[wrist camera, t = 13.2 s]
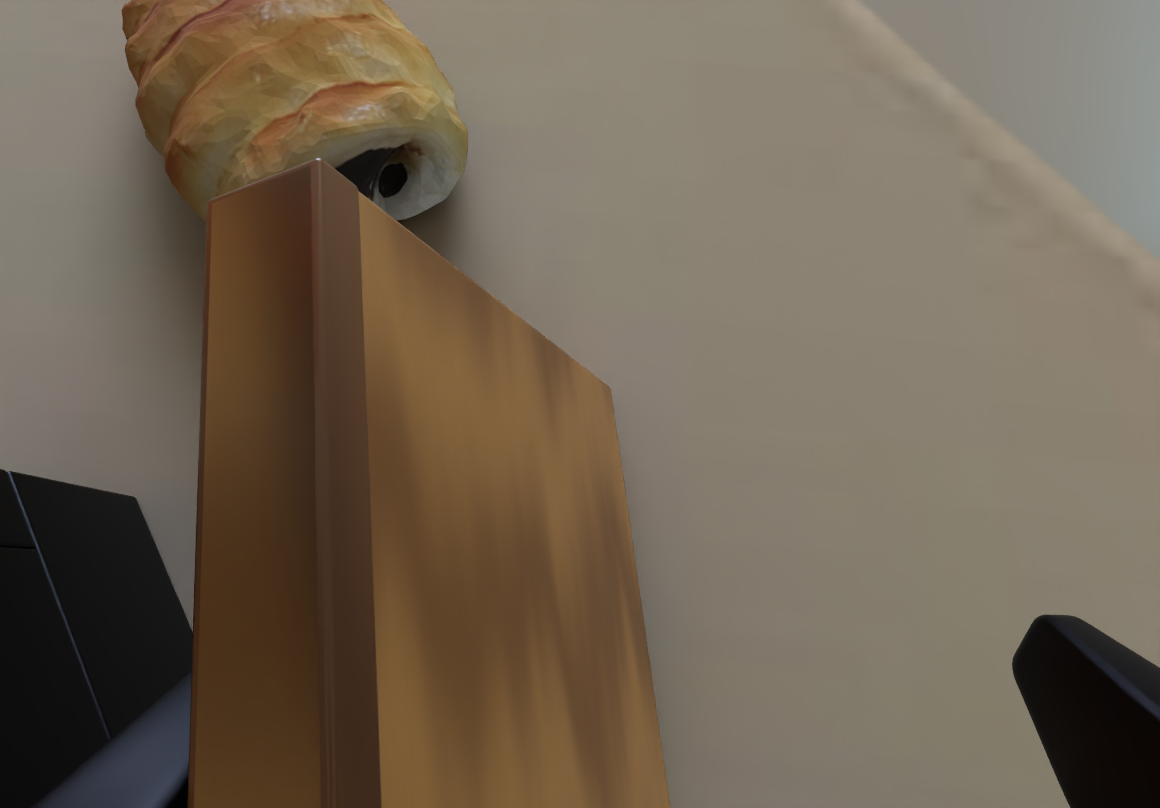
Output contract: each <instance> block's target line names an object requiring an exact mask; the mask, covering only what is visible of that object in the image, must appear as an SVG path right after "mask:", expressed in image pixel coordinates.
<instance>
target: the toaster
mask: <svg viewBox="0 0 1160 808" xmlns="http://www.w3.org/2000/svg"><path fill="white" fill-rule="evenodd" d="M192 646H193V633H192V630H191V628H190V626H189V623H188V621H187V618H186V616H185V614H184V611H183V609H182V607H181V604H180V602H179V600H178V597H177V595H176V592H175V590H174V588H173V585H172V583H171V581H170V578H169V576H168V573H167V571H166V569H165V566H164V564H163V562H162V559H161V557H160V554H159V552H158V550H157V547H156V545H155V543H154V540H153V538H152V536H151V533H150V531H149V528H148V526H147V524H146V521H145V519H144V517H143V514H142V512H141V509H140V507H139V505H138V502H137V500H136V498H135V497H132V496H127V495H122V494H118V493H113V492H108V491H103V490H98V489H94V488H89V487H84V486H79V485H74V484H70V483H65V482H60V481H55V480H50V479H46V478H41V477H36V476H31V475H26V474H22V473H17V472H12V471H10V472H6V471H5V470H2V469H0V808H30V807H32V806H33V805H34V804H35V803H36V802H38V801H39V800H40V799H41V798H42V797H44V796H45V795H46V794H47V793H48V792H49V791H51V790H52V789H53V788H54V787H55V786H57V785H58V784H59V783H60V782H61V781H62V780H64V779H65V778H66V777H67V776H68V775H70V774H71V773H72V772H73V771H74V770H75V769H77V768H78V767H79V766H80V765H81V764H83V763H84V762H85V761H86V760H87V759H89V758H90V757H91V756H92V755H93V754H94V753H96V752H97V751H98V750H99V749H100V748H102V747H103V746H104V745H105V744H106V743H107V742H109V741H110V740H111V739H112V738H113V737H115V736H116V735H117V734H118V733H119V732H120V731H122V730H123V729H124V728H125V727H126V726H128V725H129V724H130V723H131V722H132V721H134V720H135V719H136V718H137V717H138V716H139V715H141V714H142V713H143V712H144V711H145V710H147V709H148V708H149V707H150V706H151V705H152V704H154V703H155V702H156V701H157V700H158V699H160V698H161V697H162V696H163V695H164V694H165V693H167V692H168V691H169V690H170V689H171V688H173V687H174V686H175V685H176V684H177V683H179V682H180V681H181V680H182V679H183V678H184V677H186V676H187V675H188V674H189V673H190V672H192Z"/></svg>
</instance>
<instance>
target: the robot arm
mask: <svg viewBox="0 0 1160 808" xmlns="http://www.w3.org/2000/svg"><path fill="white" fill-rule="evenodd" d="M1012 669H1013V674H1014V677H1015V680H1016V683H1017V685H1018V687H1019V690H1020V692H1021V694H1022V697H1023V699H1024V701H1025V704H1026V706H1027V709H1028V711H1029V713H1030V716H1031V718H1032V720H1033V723H1034V725H1035V727H1036V730H1037V732H1038V735H1039V737H1040V739H1041V742H1042V744H1043V746H1044V749H1045V751H1046V753H1047V756H1048V758H1049V761H1050V763H1051V765H1052V768H1053V770H1054V772H1055V775H1056V777H1057V780H1058V782H1059V784H1060V786H1061V788H1062V791H1063V793H1064V795H1065V797H1066V799H1067V802H1068V804H1069V806H1070V808H1160V668H1159V667H1157V666H1156V665H1154V664H1153V663H1151V662H1149V661H1148V660H1146V659H1145V658H1143V657H1141V656H1140V655H1138V654H1136V653H1135V652H1133V651H1132V650H1130V649H1128V648H1127V647H1125V646H1124V645H1122V644H1120V643H1119V642H1117V641H1116V640H1114V639H1112V638H1111V637H1109V636H1107V635H1106V634H1104V633H1103V632H1101V631H1099V630H1098V629H1096V628H1095V627H1093V626H1091V625H1090V624H1088V623H1086V622H1085V621H1083V620H1081V619H1080V618H1077V617H1074V616H1070V615H1041V616H1039V617H1037V618H1036V619H1035V620H1034V621H1033V623H1032V624H1031V626H1030V628H1029V630H1028V631H1027V633H1026V635H1025V637H1024V639H1023V640H1022V642H1021V644H1020V646H1019V647H1018V649H1017V651H1016V653H1015V655H1014V657H1013V662H1012ZM191 676H192V672H190V673H189V674H188V675H187V676H186V677H184V678H183V679H182V680H181V681H180V682H179V683H177V684H176V685H175V686H174V687H173V688H171V689H170V690H169V691H168V692H167V693H165V694H164V695H163V696H162V697H161V698H160V699H158V700H157V701H156V702H155V703H154V704H152V705H151V706H150V707H149V708H148V709H147V710H145V711H144V712H143V713H142V714H141V715H139V716H138V717H137V718H136V719H135V720H134V721H132V722H131V723H130V724H129V725H128V726H126V727H125V728H124V729H123V730H122V731H120V732H119V733H118V734H117V735H116V736H115V737H113V738H112V739H111V740H110V741H109V742H107V743H106V744H105V745H104V746H103V747H102V748H100V749H99V750H98V751H97V752H96V753H94V754H93V755H92V756H91V757H90V758H89V759H87V760H86V761H85V762H84V763H83V764H81V765H80V766H79V767H78V768H77V769H75V770H74V771H73V772H72V773H71V774H70V775H68V776H67V777H66V778H65V779H64V780H62V781H61V782H60V783H59V784H58V785H57V786H55V787H54V788H53V789H52V790H51V791H49V792H48V793H47V794H46V795H45V796H44V797H42V798H41V799H40V800H39V801H38V802H36V803H35V804H34V805H33V806H32V807H30V808H187V799H188V768H189V738H190V707H191Z"/></svg>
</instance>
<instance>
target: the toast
mask: <svg viewBox="0 0 1160 808" xmlns="http://www.w3.org/2000/svg"><path fill="white" fill-rule="evenodd" d="M187 808H670V802H669V795H668V788H667V781H666V774H665V767H664V760H663V753H662V746H661V739H660V732H659V725H658V718H657V711H656V704H655V697H654V690H653V683H652V676H651V669H650V662H649V655H648V648H647V641H646V634H645V627H644V620H643V613H642V606H641V599H640V592H639V585H638V577H637V570H636V563H635V556H634V549H633V542H632V535H631V528H630V521H629V514H628V507H627V500H626V493H625V486H624V479H623V472H622V465H621V458H620V451H619V444H618V437H617V430H616V423H615V416H614V409H613V402H612V395H611V389H610V387H609V386H607V385H606V384H605V383H603V382H602V381H601V380H600V379H598V378H597V377H596V376H594V375H593V374H592V373H591V372H589V371H588V370H587V369H586V368H584V367H583V366H582V365H580V364H579V363H578V362H577V361H575V360H574V359H573V358H571V357H570V356H569V355H568V354H566V353H565V352H564V351H563V350H561V349H560V348H559V347H557V346H556V345H555V344H554V343H552V342H551V341H550V340H548V339H547V338H546V337H545V336H543V335H542V334H541V333H539V332H538V331H537V330H536V329H534V328H533V327H532V326H531V325H529V324H528V323H527V322H525V321H524V320H523V319H522V318H520V317H519V316H518V315H516V314H515V313H514V312H513V311H511V310H510V309H509V308H508V307H506V306H505V305H504V304H502V303H501V302H500V301H499V300H497V299H496V298H495V297H493V296H492V295H491V294H490V293H488V292H487V291H486V290H484V289H483V288H482V287H481V286H479V285H478V284H477V283H476V282H474V281H473V280H472V279H470V278H469V277H468V276H467V275H465V274H464V273H463V272H461V271H460V270H459V269H458V268H456V267H455V266H454V265H453V264H451V263H450V262H449V261H447V260H446V259H445V258H444V257H442V256H441V255H440V254H438V253H437V252H436V251H435V250H433V249H432V248H431V247H429V246H428V245H427V244H426V243H424V242H423V241H422V240H421V239H419V238H418V237H417V236H415V235H414V234H413V233H412V232H410V231H409V230H408V229H406V228H405V227H404V226H403V225H401V224H400V223H399V222H398V221H396V220H395V219H394V218H392V217H391V216H390V215H389V214H387V213H386V212H385V211H383V210H382V209H381V208H380V207H378V206H377V205H376V204H375V203H373V202H372V201H371V200H369V199H368V198H367V197H366V196H364V195H363V194H362V193H360V192H359V191H358V188H357V187H356V185H354V184H353V183H352V182H351V181H349V180H348V179H347V178H346V177H344V176H343V175H342V174H341V173H339V172H338V171H337V170H335V169H334V168H333V167H332V166H330V165H329V164H328V163H327V162H325V161H324V160H323V159H320V158H315V159H313V160H310V161H308V162H305V163H302V164H300V165H297V166H295V167H292V168H290V169H287V170H284V171H282V172H279V173H277V174H274V175H272V176H269V177H266V178H264V179H261V180H259V181H256V182H254V183H251V184H248V185H246V186H243V187H241V188H238V189H236V190H233V191H230V192H228V193H225V194H223V195H220V196H217V197H215V198H212V199H210V200H209V201H208V203H207V216H206V247H205V277H204V308H203V339H202V369H201V400H200V431H199V461H198V492H197V523H196V553H195V584H194V615H193V646H192V676H191V707H190V738H189V768H188V799H187Z"/></svg>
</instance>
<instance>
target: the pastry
mask: <svg viewBox="0 0 1160 808" xmlns="http://www.w3.org/2000/svg"><path fill="white" fill-rule="evenodd" d="M122 16H123V31H124V33H125V36H126V39H127V43H126V47H125V53H126V57H127V62H128V66H129V69H130V71H131V73H132V75H133V77H134V79H135V81H136V82H137V85H138V88H139V90H138V93H137V96H136V108H137V110H138V113H139V116H140V119H141V121H142V124H143V127H144V129H145V134H146V137H147V139H148V140H149V141H150V143H151V144H152V145H153V147H154V148H155V149H156V150H157V151H158V153H159V154H160V155H161V156H162V157H164V162H165V170H166V173H167V175H168V177H169V179H170V181H171V183H172V185H173V186H174V187H175V189H176V190H177V192H178V193H179V194H180V195H181V197H182V198H183V199H184V200H185V201H186V202H187V204H188V205H189V207H190V208H191V209H192V210H193V211H194V212H195V213H196V214H197V215H199V216H200V217H201V218H202V219H203V220H204V222H205V223H206V216H207V203H208V201H209V200H210V199H212V198H215V197H217V196H220V195H223V194H225V193H228V192H230V191H233V190H236V189H238V188H241V187H243V186H246V185H248V184H251V183H254V182H256V181H259V180H261V179H264V178H266V177H269V176H272V175H274V174H277V173H279V172H282V171H284V170H287V169H290V168H292V167H295V166H297V165H300V164H302V163H305V162H308V161H310V160H313V159H315V158H320V159H323V160H324V161H325V162H327V163H328V164H329V165H330V166H332V167H333V168H334V169H335V170H337V171H338V172H339V173H341V174H342V175H343V176H344V177H346V178H347V179H348V180H349V181H351V182H352V183H353V184H354V185H356V187H357V188H358V191H359V192H360V193H362V194H363V195H364V196H366V197H367V198H368V199H369V200H371V201H372V202H373V203H375V204H376V205H377V206H378V207H380V208H381V209H382V210H383V211H385V212H386V213H387V214H389V215H390V216H391V217H392V218H394V219H395V220H396V221H397V220H402V219H407V218H410V217H412V216H415V215H417V214H419V213H421V212H423V211H425V210H427V209H429V208H431V207H433V206H434V205H436V204H438V203H440V202H442V201H444V200H445V199H446V198H447V197H448V196H449V194H450V193H451V191H452V190H453V188H454V186H455V185H456V183H457V182H458V180H459V179H460V177H461V175H462V174H463V172H464V169H465V165H466V159H467V151H468V132H467V127H466V126H465V125H464V123H463V122H462V121H461V120H460V118H459V114H458V109H457V104H456V98H455V94H454V91H453V88H452V87H451V85H450V84H449V82H448V80H447V79H446V77H445V75H444V74H443V73H442V72H441V71H440V70H439V68H438V67H437V65H436V63H435V61H434V58H433V57H432V55H431V53H430V51H429V50H428V48H427V47H426V46H425V45H424V44H423V43H422V42H421V41H420V40H418V39H417V38H416V37H415V36H414V35H413V34H412V33H411V32H410V31H409V30H407V29H406V27H405V26H404V25H403V23H402V21H401V20H400V19H399V17H398V16H397V15H396V13H395V12H394V11H393V10H392V9H391V8H389V7H388V6H387V5H386V4H385V3H384V2H383V1H382V0H131V1H130V2H128V3H126V4H125V5H124V7H123V9H122Z"/></svg>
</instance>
